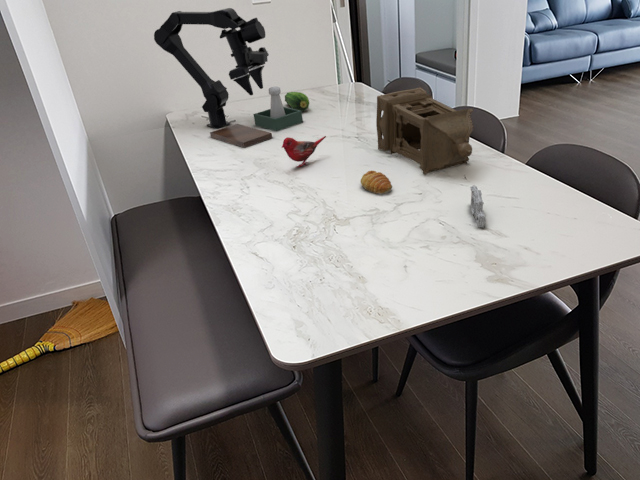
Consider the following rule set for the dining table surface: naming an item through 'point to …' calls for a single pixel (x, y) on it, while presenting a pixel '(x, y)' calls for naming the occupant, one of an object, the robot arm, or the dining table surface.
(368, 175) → the pastry
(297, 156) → the decorative bird figurine
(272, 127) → the green square tray
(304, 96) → the vegetable
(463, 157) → the brown lantern
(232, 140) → the serving board
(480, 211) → the garden wall model
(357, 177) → the dining table surface
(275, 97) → the salt shaker
